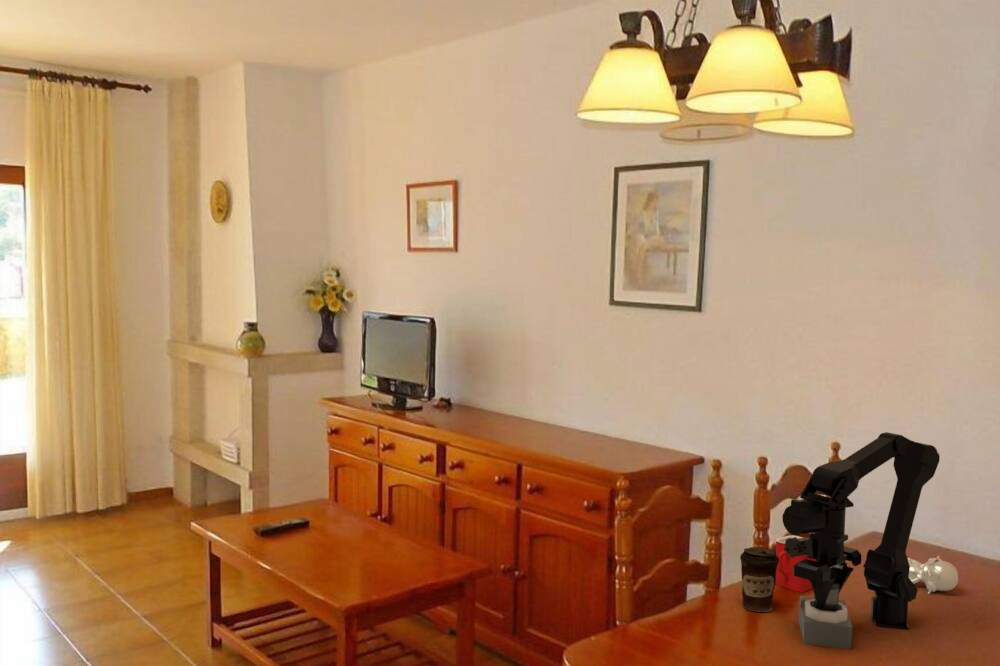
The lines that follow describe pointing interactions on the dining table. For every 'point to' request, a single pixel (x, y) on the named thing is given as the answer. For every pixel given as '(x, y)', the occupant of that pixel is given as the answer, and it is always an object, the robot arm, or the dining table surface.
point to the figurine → (933, 574)
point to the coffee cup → (758, 578)
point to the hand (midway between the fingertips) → (826, 604)
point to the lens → (831, 599)
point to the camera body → (824, 625)
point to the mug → (789, 568)
